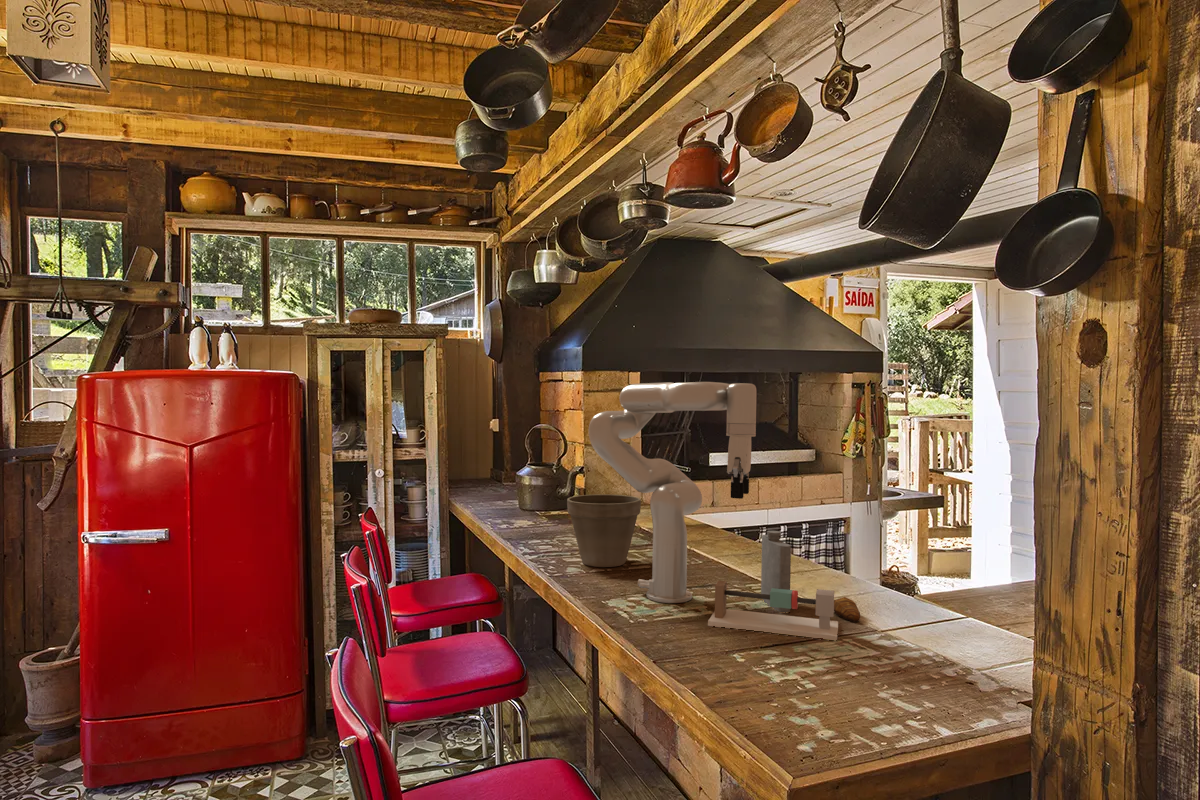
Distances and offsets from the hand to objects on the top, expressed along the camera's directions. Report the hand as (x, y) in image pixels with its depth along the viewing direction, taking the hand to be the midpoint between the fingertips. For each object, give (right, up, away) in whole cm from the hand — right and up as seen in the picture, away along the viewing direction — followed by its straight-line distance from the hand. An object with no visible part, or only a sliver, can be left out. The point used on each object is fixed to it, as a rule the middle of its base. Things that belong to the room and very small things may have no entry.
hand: (739, 495), depth 190 cm
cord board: (+6, -30, -12) cm, 33 cm away
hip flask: (+10, -31, +7) cm, 33 cm away
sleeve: (+8, -25, -12) cm, 29 cm away
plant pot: (-36, -30, +54) cm, 71 cm away
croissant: (+27, -31, -2) cm, 41 cm away
